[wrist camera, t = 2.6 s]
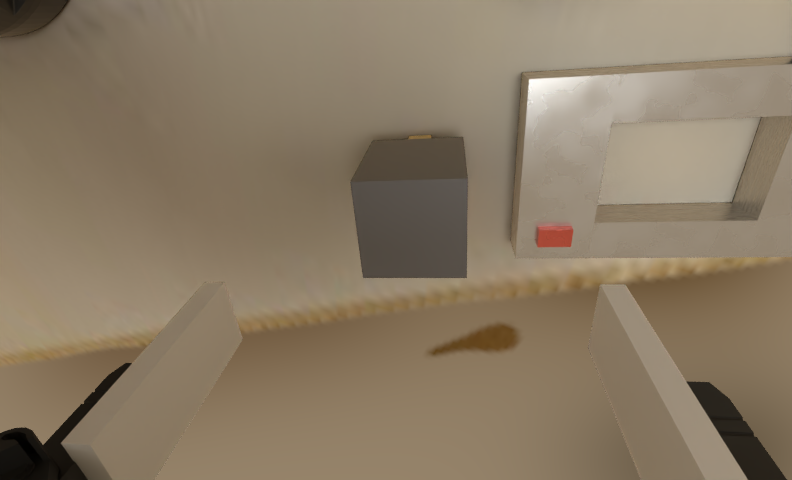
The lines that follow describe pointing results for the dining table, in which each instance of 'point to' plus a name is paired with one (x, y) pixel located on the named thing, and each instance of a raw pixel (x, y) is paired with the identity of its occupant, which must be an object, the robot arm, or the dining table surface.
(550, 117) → the socket
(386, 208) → the plug
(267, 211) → the dining table surface
